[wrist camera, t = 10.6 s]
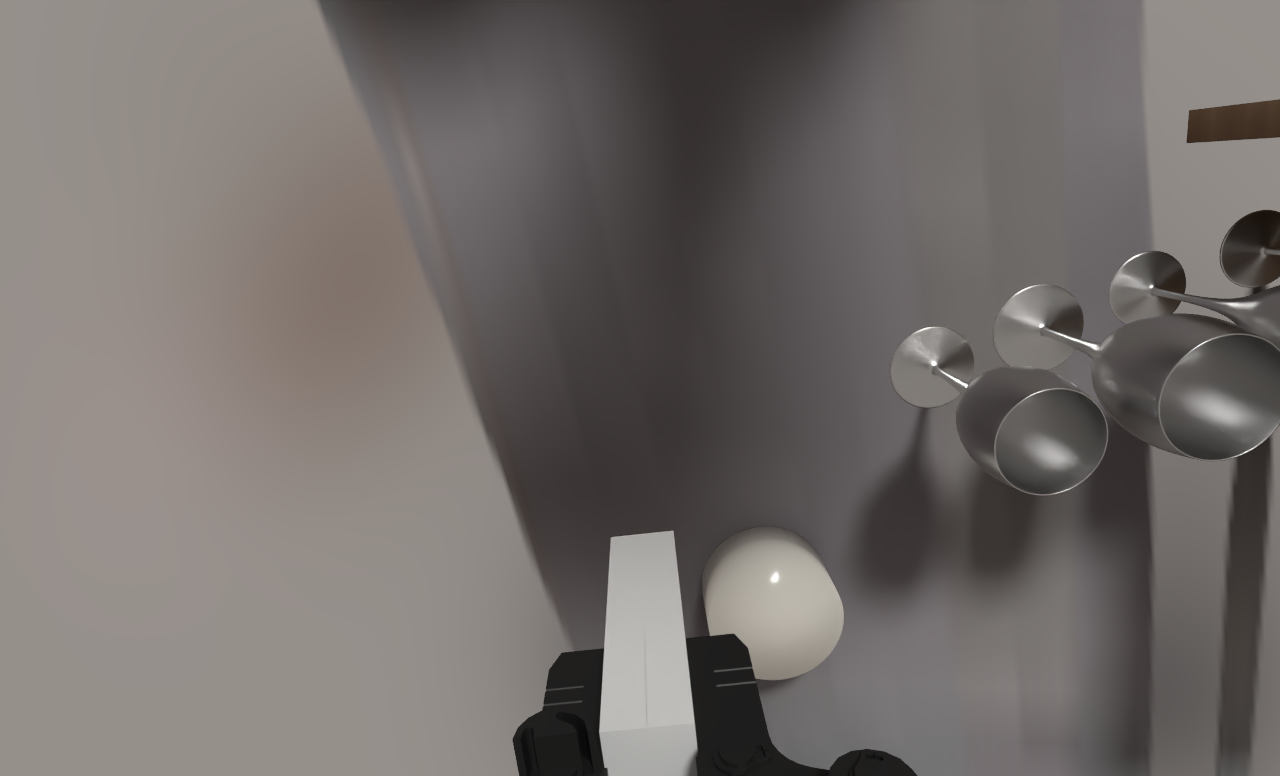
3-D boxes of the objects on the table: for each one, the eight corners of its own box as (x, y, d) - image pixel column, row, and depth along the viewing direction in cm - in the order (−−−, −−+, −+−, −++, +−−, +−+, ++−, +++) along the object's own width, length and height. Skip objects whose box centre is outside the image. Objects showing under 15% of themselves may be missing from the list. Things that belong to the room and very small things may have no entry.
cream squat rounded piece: (695, 532, 43) (702, 568, 39) (821, 519, 43) (840, 553, 39) (707, 642, 44) (714, 686, 41) (827, 629, 44) (846, 672, 40)
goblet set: (903, 431, 41) (1025, 545, 28) (872, 332, 40) (987, 405, 27) (1436, 241, 39) (1832, 272, 26) (1424, 129, 37) (1838, 103, 25)
